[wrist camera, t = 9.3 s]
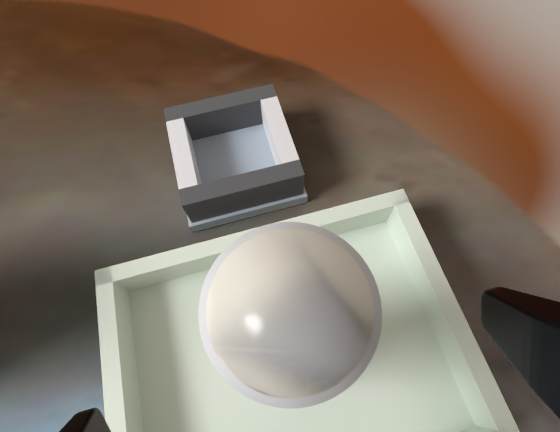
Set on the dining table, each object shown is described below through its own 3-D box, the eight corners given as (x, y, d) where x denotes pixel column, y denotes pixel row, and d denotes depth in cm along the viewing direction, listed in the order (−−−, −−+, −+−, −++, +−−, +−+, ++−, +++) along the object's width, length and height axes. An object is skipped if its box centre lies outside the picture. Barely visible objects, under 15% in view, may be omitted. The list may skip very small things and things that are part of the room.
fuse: (340, 357, 18) (421, 312, 7) (286, 411, 17) (282, 458, 6) (291, 302, 19) (294, 191, 8) (238, 351, 18) (161, 298, 7)
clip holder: (306, 202, 22) (309, 176, 20) (192, 232, 22) (178, 210, 19) (276, 113, 25) (274, 80, 22) (173, 137, 24) (159, 106, 22)
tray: (491, 437, 17) (527, 446, 15) (145, 556, 16) (117, 589, 13) (389, 211, 22) (403, 188, 19) (118, 284, 20) (94, 270, 18)
